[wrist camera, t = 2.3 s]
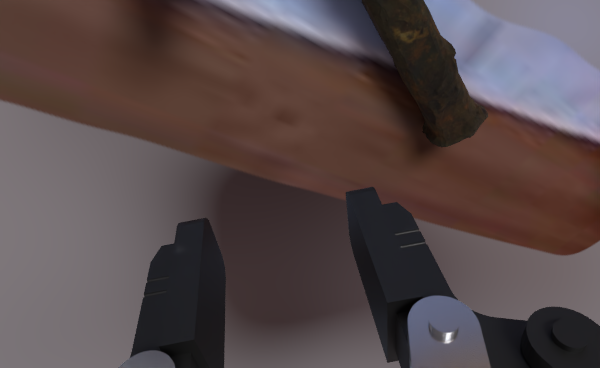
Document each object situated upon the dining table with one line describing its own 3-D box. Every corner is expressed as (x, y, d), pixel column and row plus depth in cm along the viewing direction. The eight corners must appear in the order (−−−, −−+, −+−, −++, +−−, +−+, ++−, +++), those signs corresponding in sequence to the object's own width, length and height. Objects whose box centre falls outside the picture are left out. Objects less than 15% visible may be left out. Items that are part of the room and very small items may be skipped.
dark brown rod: (469, 99, 30) (503, 131, 26) (420, 128, 31) (445, 163, 27) (349, -204, 19) (377, -223, 15) (279, -146, 20) (289, -150, 16)
